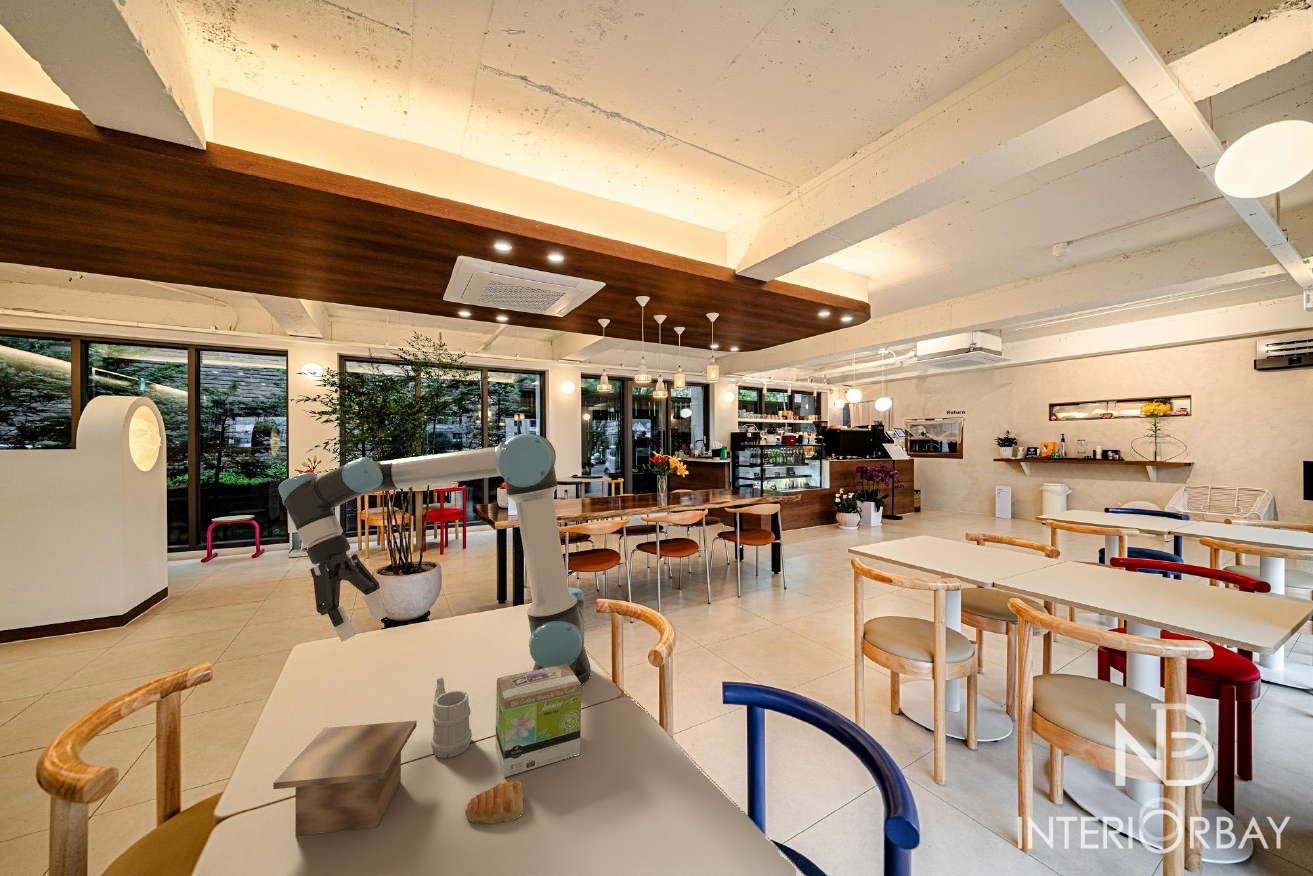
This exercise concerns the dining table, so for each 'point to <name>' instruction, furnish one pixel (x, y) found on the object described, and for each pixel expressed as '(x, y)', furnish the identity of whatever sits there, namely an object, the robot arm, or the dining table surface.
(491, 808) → the pastry
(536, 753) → the tea box
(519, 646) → the dining table surface
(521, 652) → the dining table surface
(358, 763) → the walnut stand
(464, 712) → the mug
